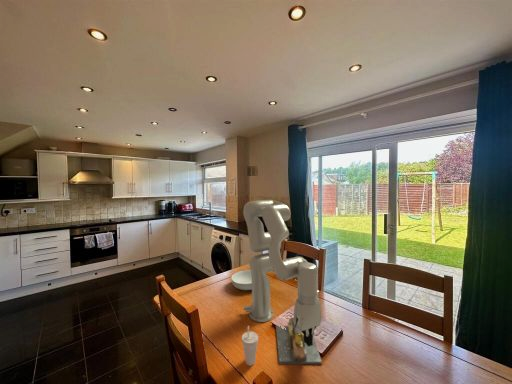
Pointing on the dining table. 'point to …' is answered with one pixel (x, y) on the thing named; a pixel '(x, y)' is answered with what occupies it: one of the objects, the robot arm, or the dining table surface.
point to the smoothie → (250, 346)
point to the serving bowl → (242, 280)
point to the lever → (297, 335)
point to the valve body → (295, 348)
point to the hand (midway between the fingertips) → (308, 343)
